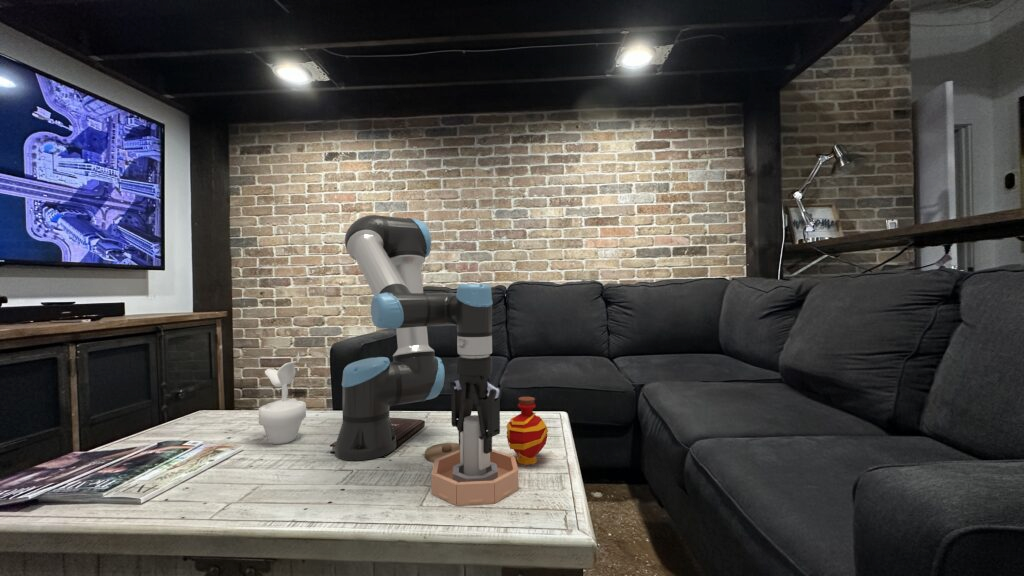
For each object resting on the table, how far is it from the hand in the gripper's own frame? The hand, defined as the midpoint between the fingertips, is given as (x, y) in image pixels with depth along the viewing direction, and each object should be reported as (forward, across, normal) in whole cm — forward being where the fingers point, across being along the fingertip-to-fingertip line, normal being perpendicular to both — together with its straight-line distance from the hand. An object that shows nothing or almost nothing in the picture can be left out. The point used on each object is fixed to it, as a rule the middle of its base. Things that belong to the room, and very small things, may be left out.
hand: (475, 463), depth 89 cm
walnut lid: (+5, -17, +7) cm, 19 cm away
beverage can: (+2, 0, 0) cm, 2 cm away
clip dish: (+4, 0, 0) cm, 4 cm away
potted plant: (+5, -61, -15) cm, 63 cm away
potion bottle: (+4, +1, +17) cm, 18 cm away
